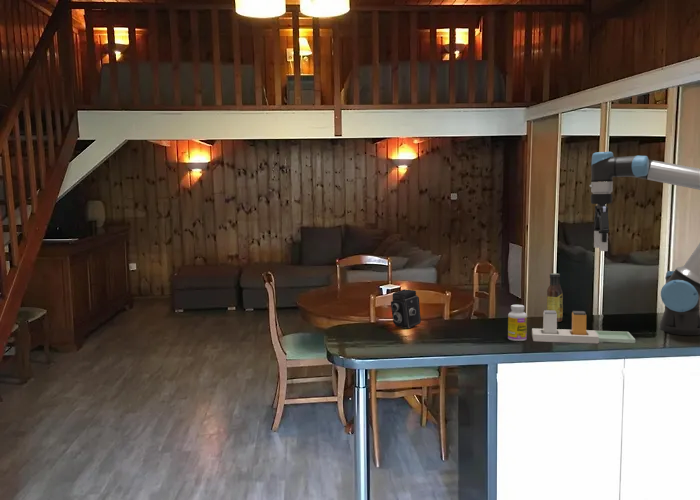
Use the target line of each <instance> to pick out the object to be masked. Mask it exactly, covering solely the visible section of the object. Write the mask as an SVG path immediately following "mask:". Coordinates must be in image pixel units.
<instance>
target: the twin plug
mask: <svg viewBox="0 0 700 500" xmlns="http://www.w3.org/2000/svg"><path fill="white" fill-rule="evenodd" d="M542 315H543V316H542V319H543V322H542V329H543V334H557V328H558V322H557V313H556V311H553V310H547V309H546V310H545V309H544V310H543V314H542Z"/></svg>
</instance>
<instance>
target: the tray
mask: <svg viewBox="0 0 700 500" xmlns="http://www.w3.org/2000/svg"><path fill="white" fill-rule="evenodd" d="M595 332H596V333H597V335H598V336H599V343H600V342H601V343H625V344H626V343H628V344H636V338H635V337H634V336H633V335H632V334H631V333H630V332H629V331H619V330H618V331H616V330H615V331H614V330H613V331H611V330H595Z"/></svg>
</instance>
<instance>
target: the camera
mask: <svg viewBox="0 0 700 500" xmlns="http://www.w3.org/2000/svg"><path fill="white" fill-rule="evenodd" d="M420 304H421V303H420V297H419V296H418V295H417V291H416V290H413V289H412V290H411V289H401V290H398V291H395V292H393V293H392V300H391V301H390V308H391V316H392V317H391V318H392V322H393V324H394V325H395V327H398V328H401V329H402V328H403V329H411V328H413V327H416V326H417V325H420V324H421V322H422V318H421V310H420V309H421V307H420Z"/></svg>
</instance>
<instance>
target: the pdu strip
mask: <svg viewBox="0 0 700 500" xmlns="http://www.w3.org/2000/svg"><path fill="white" fill-rule="evenodd" d="M595 331H596V330H593V329H592V330H589V329H586V335H572V329H565V328H564V329H562V328H561V329H560V328H558V329H557V334H543V328H534V327H533V328H531V337H532V341H533V342H542V343H543V342H545V343H546V342H547V343H568V344H569V343H571V344H572V343H575V344H599V343H600V342H599V336H598V335H597V333H596V332H595Z"/></svg>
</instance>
